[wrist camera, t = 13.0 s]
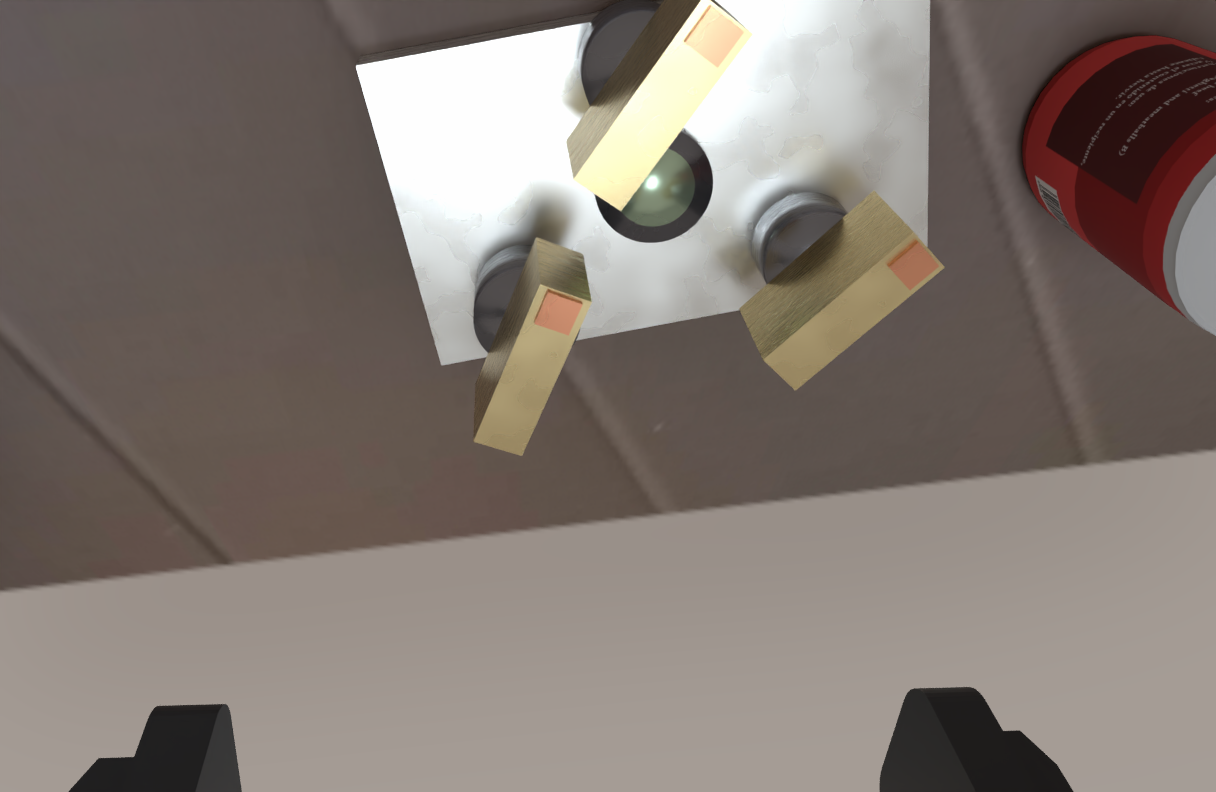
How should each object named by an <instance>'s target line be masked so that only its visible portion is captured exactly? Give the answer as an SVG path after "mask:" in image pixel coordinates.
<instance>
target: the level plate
mask: <svg viewBox="0 0 1216 792" xmlns="http://www.w3.org/2000/svg"><path fill="white" fill-rule="evenodd" d="M715 1H716V2H718V3H719V4H720V5H722V6H723V7H724V8H725V9H726V10H728V11H729V12H730V13H731V14H732V15H733V16H734V17H735V18H736V19H737V20H738V21H739V22H740V23H741V24H742V25H744V26H745V27H746V28H747V29H748V30H749V31H750V32H751V33H752V34H753V35H752V36H751V37H750V39H749V40H748V42H747V43H746V44H745V46H744V47H743V48H742V50H741V51H740V52H739V54H738V55H737V56H736V58H735V59H734V60H733V62H732V63H731V64H730V66H729V67H728V68H727V70H726V71H725V72H724V74H723V75H722V76H721V78H720V79H719V80H718V82H717V83H716V84H715V86H714V87H713V89H712V90H711V91H710V93H709V94H708V95H707V97H706V98H705V99H704V101H703V102H702V103H701V105H700V106H699V107H698V109H697V110H696V111H695V113H694V114H693V115H692V117H691V118H690V119H689V121H688V122H687V123H686V125H685V126H684V127H683V129H682V130H681V131H680V133H679V134H678V136H677V137H676V138H675V140H674V141H673V142H672V144H671V145H670V146H669V148H668V149H667V150H666V152H665V153H664V154H663V156H662V157H661V158H660V160H659V161H658V162H657V164H656V165H655V166H654V168H653V169H652V170H651V172H650V173H649V174H648V176H647V177H646V178H645V180H644V181H643V183H642V184H641V185H640V187H639V188H638V189H637V191H636V192H635V193H634V195H633V196H632V197H631V199H630V200H629V201H628V203H627V204H626V205H625V207H624V208H623V209H622V211H620V210H618V209H617V208H615V207H614V206H612V205H611V204H609V203H608V202H606V201H605V200H603V199H602V198H600V197H599V196H597V195H596V194H594V193H592V192H591V191H589V190H588V189H586V188H585V187H583V186H582V185H580V184H579V183H577V182H576V181H574V180H573V175H572V170H571V165H570V160H569V155H568V150H567V145H566V140H567V138H568V137H569V136H570V134H571V133H572V131H573V130H574V128H575V127H576V125H577V124H578V123H579V121H580V120H581V118H582V117H583V115H584V114H585V113H586V111H587V110H588V108H589V107H590V105H589V103H588V100H587V98H586V95H585V92H584V88H583V85H582V81H581V78H580V74H579V69H578V51H579V46H580V42H581V39H582V36H583V34H584V32H585V30H586V28H587V27H588V25H589V24H590V22H591V21H592V20H593V18H594V17H595V16H596V15H597V14H598V13H600V12H601V11H600V12H595V13H589V14H584V15H579V16H573V17H568V18H563V19H557V20H552V21H547V22H541V23H536V24H531V25H525V26H520V27H514V28H509V29H504V30H498V31H493V32H488V33H482V34H477V35H472V36H466V37H461V38H456V39H450V40H445V41H440V42H434V43H429V44H424V45H418V46H413V47H407V48H402V49H397V50H391V51H386V52H381V53H375V54H370V55H365V56H361V57H360V59H359V61H358V63H357V64H356V69H357V72H358V76H359V79H360V83H361V86H362V90H363V93H364V97H365V100H366V104H367V107H368V111H369V114H370V118H371V121H372V125H373V128H374V132H375V135H376V139H377V142H378V146H379V149H380V153H381V156H382V160H383V163H384V167H385V170H386V174H387V177H388V181H389V184H390V188H391V191H392V195H393V198H394V202H395V205H396V209H397V212H398V216H399V219H400V223H401V226H402V230H403V233H404V237H405V240H406V244H407V247H408V251H409V254H410V258H411V261H412V265H413V268H414V272H415V275H416V279H417V282H418V285H419V289H420V292H421V296H422V299H423V303H424V306H425V310H426V313H427V317H428V320H429V324H430V327H431V331H432V334H433V338H434V341H435V345H436V348H437V352H438V355H439V359H440V362H441V365H447V364H452V363H457V362H463V361H468V360H473V359H479V358H484V357H487V355H488V352H486V350H485V349H484V348H483V347H482V346H481V344H480V342H479V341H478V339H477V336H476V334H475V330H474V324H473V313H474V293H475V283H476V279H477V276H478V274H479V271H480V270H481V268H482V266H483V265H484V264H485V263H486V261H487V260H488V259H489V258H491V257H492V256H493V255H494V254H496V253H497V252H499V251H501V250H503V249H505V248H508V247H511V246H516V245H533V243H534V241H535V239H536V237H537V238H540V239H543V240H546V241H549V242H551V243H554V244H557V245H560V246H562V247H565V248H568V249H571V250H573V251H576V252H579V253H582V254H583V257H584V262H585V267H586V273H587V278H588V284H589V289H590V295H591V300H592V303H591V305H590V308H589V310H588V312H587V314H586V316H585V319H584V321H583V323H582V325H581V328H580V332H579V335H578V338H577V339H576V340H581V339H586V338H592V337H597V336H602V335H608V334H613V333H619V332H624V331H629V330H635V329H640V328H645V327H651V326H656V325H662V324H667V323H672V322H678V321H683V320H688V319H694V318H699V317H705V316H710V315H715V314H721V313H726V312H731V311H737V310H739V308H740V307H741V306H743V305H744V304H745V303H746V302H747V301H748V300H749V299H751V298H752V297H753V296H754V295H755V294H756V293H757V292H759V291H760V290H761V289H762V288H763V287H764V286H765V285H767V284H766V282H765V281H764V279H763V277H762V275H761V273H760V271H759V270H758V268H757V266H756V264H755V261H754V258H753V255H752V238H753V234H754V230H755V228H756V226H757V223H758V222H759V220H760V218H761V217H762V216H763V214H764V213H765V212H766V211H767V210H768V209H769V208H770V207H771V206H772V205H773V204H775V203H776V202H778V201H779V200H781V199H783V198H785V197H787V196H789V195H792V194H796V193H800V192H817V193H822V194H825V195H828V196H830V197H832V198H833V199H835V200H836V201H838V202H839V203H840V204H841V205H842V206H843V207H844V209H845V210H846V211H847V212H848V213H849V212H850V211H851V210H852V209H853V208H854V207H856V206H857V205H858V204H859V203H860V202H861V201H862V200H864V199H865V198H866V197H867V196H868V195H869V194H870V193H872V192H873V191H875V192H876V193H877V194H878V195H879V196H880V197H881V198H882V199H883V200H884V201H885V202H886V203H887V204H888V205H889V207H890V208H891V209H892V210H893V211H894V212H895V213H896V214H897V215H898V216H899V217H900V218H901V219H902V220H903V221H904V222H905V223H906V224H907V225H908V226H909V227H910V229H911V230H912V231H913V232H914V233H915V234H916V235H917V236H918V237H919V239H920V240H921V241H922V242H923V243H924V244H925V245H926V247H927V231H928V140H929V49H930V0H715ZM654 2H656V3H658V4H661V3H662V2H663V0H659V1H654Z"/></svg>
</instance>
